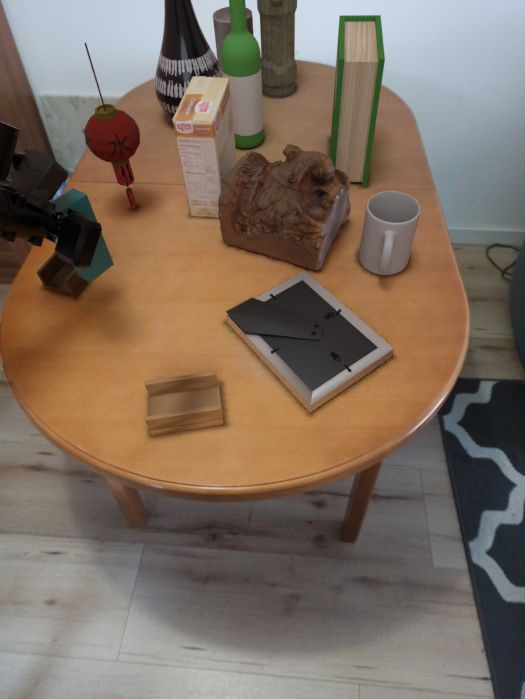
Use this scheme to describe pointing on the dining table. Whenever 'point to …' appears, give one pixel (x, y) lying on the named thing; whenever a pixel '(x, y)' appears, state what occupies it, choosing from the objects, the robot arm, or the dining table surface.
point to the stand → (184, 403)
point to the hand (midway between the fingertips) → (88, 231)
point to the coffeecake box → (205, 141)
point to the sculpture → (285, 206)
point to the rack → (61, 277)
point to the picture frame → (308, 339)
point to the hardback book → (356, 94)
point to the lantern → (113, 140)
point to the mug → (388, 232)
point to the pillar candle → (226, 27)
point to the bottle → (243, 78)
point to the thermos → (278, 47)
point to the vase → (182, 55)
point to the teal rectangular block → (101, 256)
